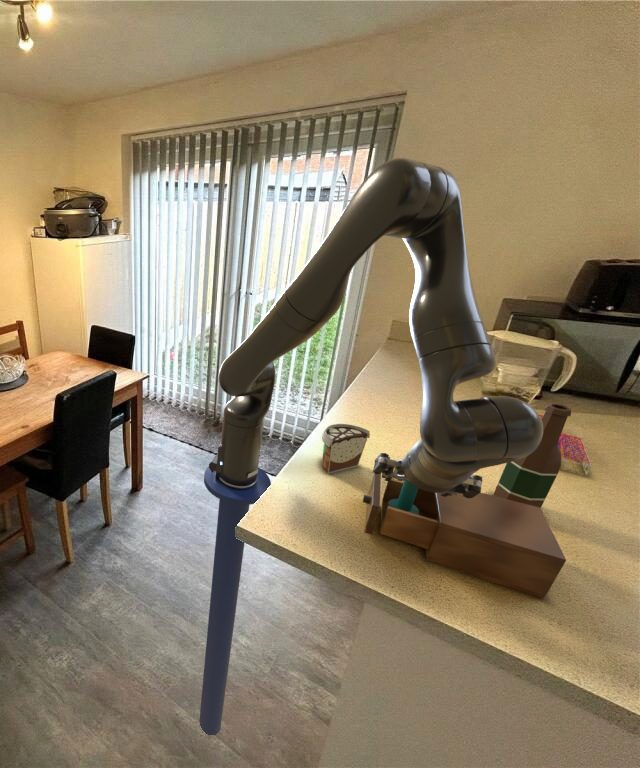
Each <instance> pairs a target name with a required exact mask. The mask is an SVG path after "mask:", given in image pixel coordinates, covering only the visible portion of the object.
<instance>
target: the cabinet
mask: <svg viewBox="0 0 640 768" xmlns="http://www.w3.org/2000/svg"><path fill="white" fill-rule="evenodd" d="M434 494H435V501H436V507H437V514H438V521H439V525H438V527H437V530H436V532H435V535H434V538H433V540H432V543H431V545H430V548H429V549H426V548H425V557H426V561H429V562H433V563H435V564H439V565H441V566H444V567H447V568H449V569H453V570H455V571H459V572H462V573H464V574H468V575H471V576H474V577H477V578H480V579H483V580H485V581H489V582H491V583H495V584H498V585H500V586H503V587H506V588H509V589H512V590H515V591H519V592H521V593H524V594H527V595H530V596H533V597H535V598H539V599H542V600H545V598H546V596H547V595H548V593H549V591H550V590H551V588H552V586H553V584H554V583H555V581H556V579H557V577H558V576H559V574H560V572H561V570H562V569H563V567H564V564H566V562H567V558H566V556H565V554H564V552H563V550H562V548H561V547H560V544H559V543H558V541H557V537H556V536H555V534H554V532H553V530H552V528H551V526H550V524H549V523H548V520H547V518H546V515H545V514H544V512H543V511H542V507H541V508H539V507H535V506H531V505H528V504H524V503H520V502H516V501H512V500H508V499H504V498H500V497H496V496H493V495H492V494H488V493H485V492H481V493H479V494H478V495H476V496H475V497H473V498H466V497H464V496H463V494H461V493H458V495H452V496H449V495H448V496H447V497H444V496H441V493H434Z"/></svg>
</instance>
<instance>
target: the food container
mask: <svg viewBox="0 0 640 768" xmlns="http://www.w3.org/2000/svg"><path fill="white" fill-rule="evenodd" d="M370 436H371V432H370V430H368V429H366V428H364V427H361V426H357V425H354V424H347V423H334V424H331V425H328V426H327V427H325V429H324V431H323V432H322V435H321V441H322V442H323V449H322V460H321V467H322V469H323V471H324V472H325V473H326V474H332V473H336V472H341V471H344V470H348V469H352V468H356V467H358V466H359V464H360V461H361V459H362V455H363V452H364V450H365V447H366V444H367V441H368V439H370V438H371V437H370Z"/></svg>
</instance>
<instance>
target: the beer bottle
mask: <svg viewBox="0 0 640 768" xmlns="http://www.w3.org/2000/svg"><path fill="white" fill-rule="evenodd" d="M542 415H543V417H542V419H541V420H542V423H543V436H542V440H541V442H540V444H539V446H538V447H537V448H536V450H535V451H534V452H532V453H531V454H530V455H528V456H526V457H524V458H522V459H519V460H516V461H512V462H508V463H505V466H504V468H503V470H502V473H501V475H500V478H499V480H498V482H497V484H496V487H495V489H494V492H493V495H492V496H496V497H500V498H504V499H508V500H512V501H516V502H520V503H524V504H528V505H531V506H535V507H539V508H541V509H542V506H543V504H544V502H545V501H546V499H547V496H548V494H549V492H550V491H551V488H552V487H553V485H554V482H555V481H556V478H557V476H558V475H559V472H560V470H561V468H562V466H561V464H562V462H563V460H562V459H563V458H562V457H563V456H562V457H561V451H560V449H559V447H558V441H559V439H560V435H561V433H563V430H564V427H565V425H566V422H567V420H568V417H571V416H572V408H570V407H568V406H566V405H563V404H559V403H547V405H546V406H545V407H544V413H543V414H542ZM561 461H562V462H561ZM560 467H561V468H560Z"/></svg>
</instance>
